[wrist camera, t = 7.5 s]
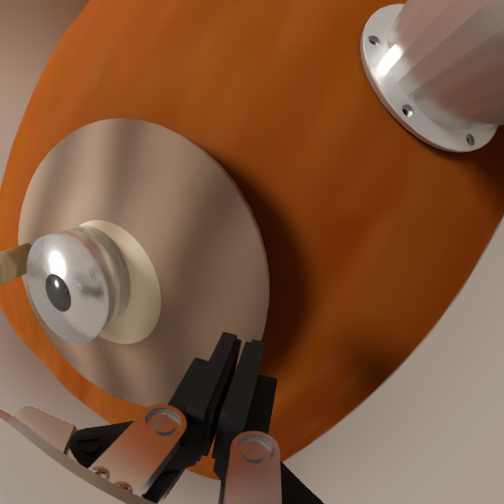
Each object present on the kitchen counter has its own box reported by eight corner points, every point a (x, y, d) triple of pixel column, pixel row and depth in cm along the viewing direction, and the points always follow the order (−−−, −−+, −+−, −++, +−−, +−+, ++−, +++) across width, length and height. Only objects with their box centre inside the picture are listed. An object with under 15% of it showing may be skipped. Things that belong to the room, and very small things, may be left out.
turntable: (304, 141, 14) (315, 111, 8) (238, 425, 20) (223, 484, 14) (38, 127, 16) (-18, 122, 10) (43, 344, 22) (6, 373, 15)
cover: (135, 239, 15) (100, 253, 12) (129, 335, 17) (102, 361, 14) (60, 216, 16) (24, 224, 12) (60, 301, 18) (31, 319, 14)
